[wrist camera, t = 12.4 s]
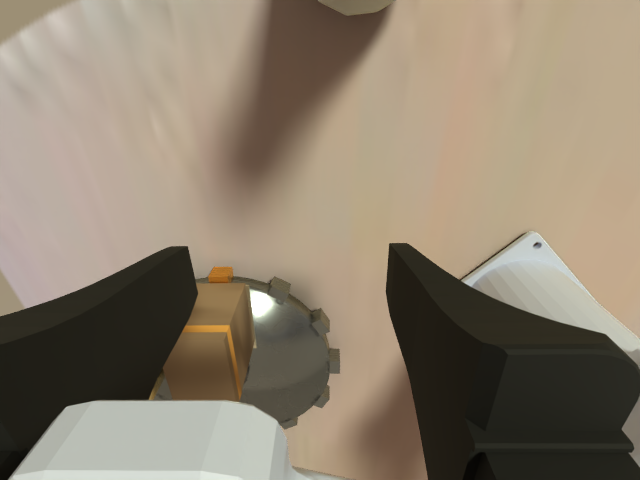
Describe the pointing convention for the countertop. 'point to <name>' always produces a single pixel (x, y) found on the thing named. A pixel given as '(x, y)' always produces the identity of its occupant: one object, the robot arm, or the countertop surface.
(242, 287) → the link block
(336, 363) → the sprocket
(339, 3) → the salt shaker
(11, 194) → the countertop surface
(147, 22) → the countertop surface
